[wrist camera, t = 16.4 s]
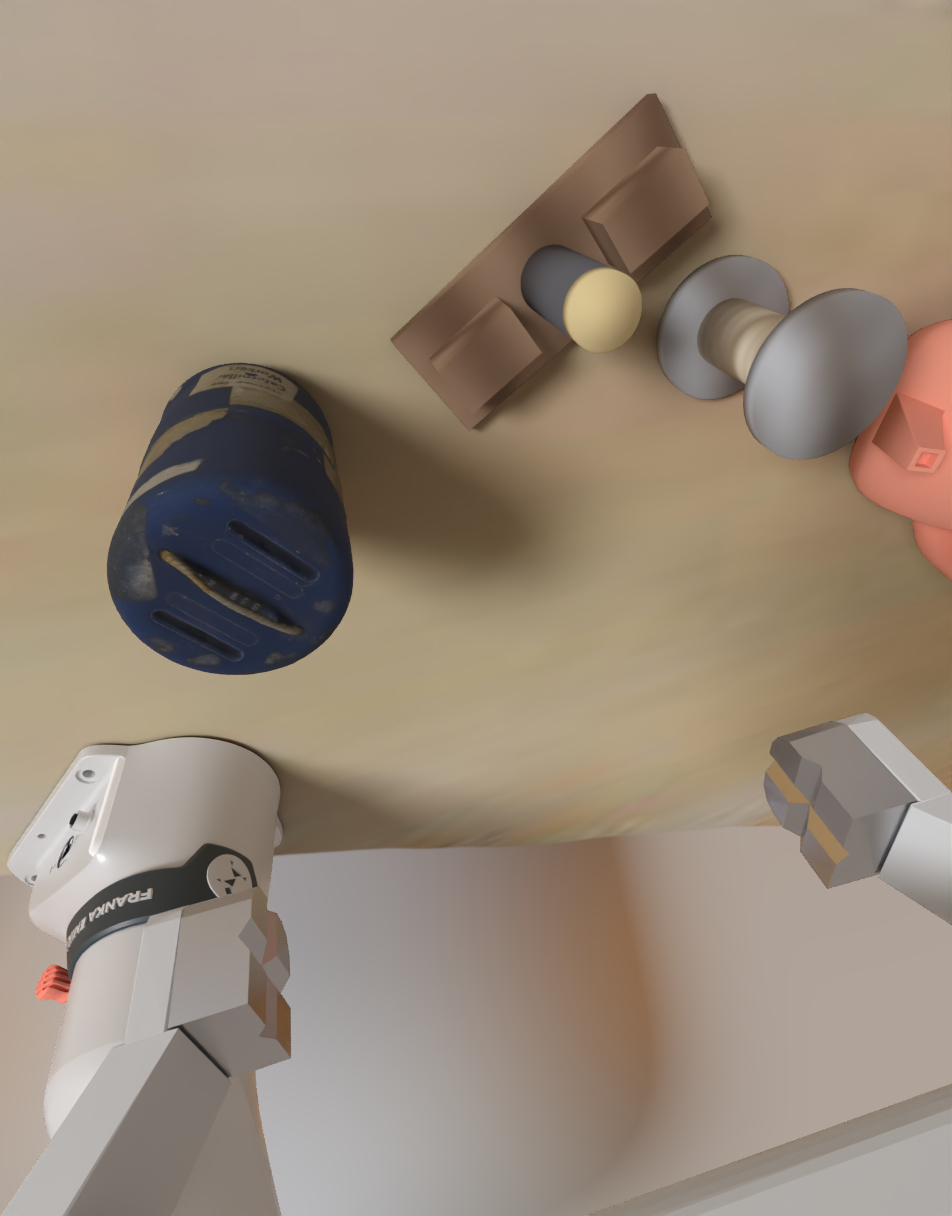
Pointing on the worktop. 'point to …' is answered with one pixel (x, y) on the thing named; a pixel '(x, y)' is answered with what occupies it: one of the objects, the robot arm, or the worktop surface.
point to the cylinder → (582, 297)
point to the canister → (235, 527)
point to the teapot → (915, 446)
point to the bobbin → (783, 354)
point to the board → (571, 217)
